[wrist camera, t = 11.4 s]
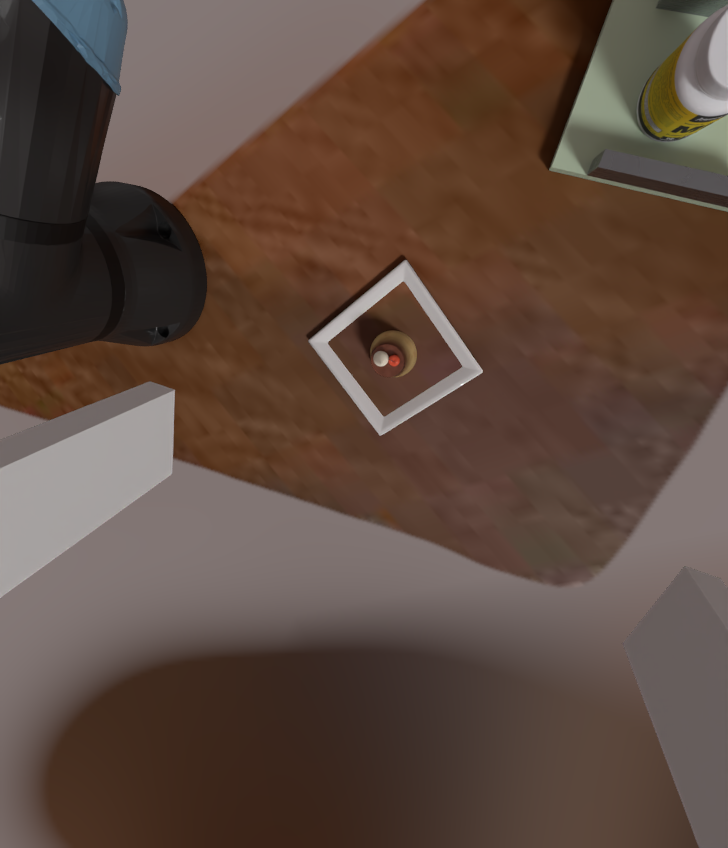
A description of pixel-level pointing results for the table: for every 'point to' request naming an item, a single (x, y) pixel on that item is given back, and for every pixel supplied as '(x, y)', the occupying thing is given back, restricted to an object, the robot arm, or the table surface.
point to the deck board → (634, 98)
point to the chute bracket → (658, 172)
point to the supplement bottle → (688, 84)
